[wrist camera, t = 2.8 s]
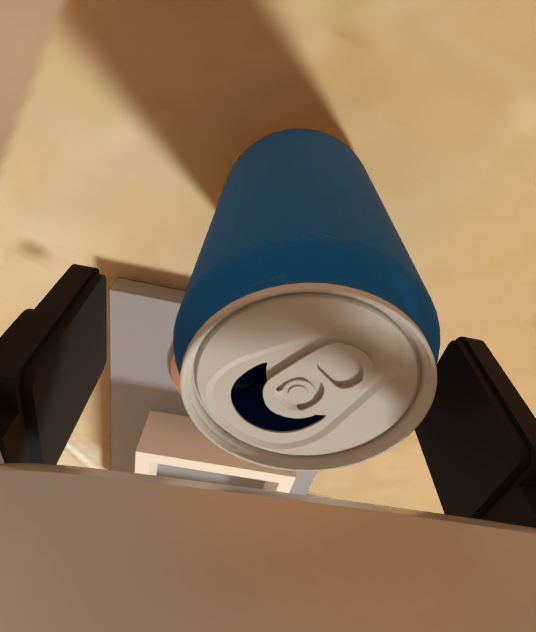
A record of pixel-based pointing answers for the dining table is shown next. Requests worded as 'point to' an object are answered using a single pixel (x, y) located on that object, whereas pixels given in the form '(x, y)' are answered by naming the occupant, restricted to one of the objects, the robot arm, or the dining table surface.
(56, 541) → the robot arm
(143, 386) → the board
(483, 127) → the dining table surface
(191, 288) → the beverage can
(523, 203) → the dining table surface
